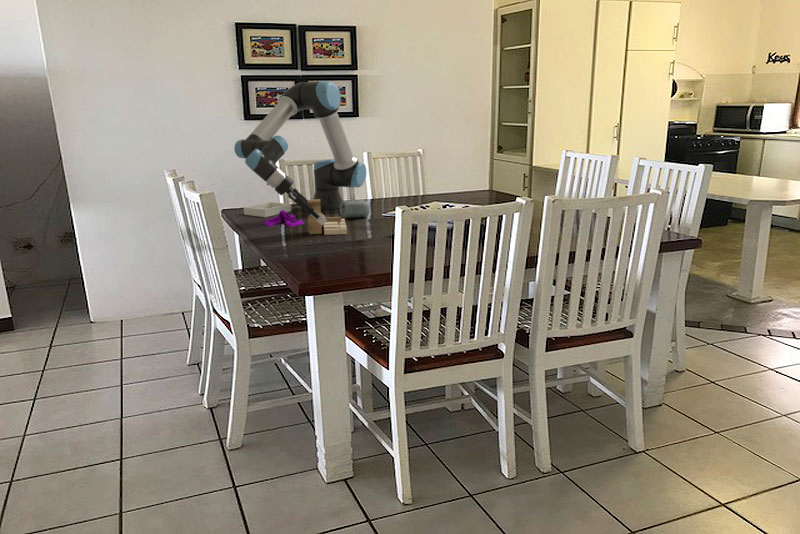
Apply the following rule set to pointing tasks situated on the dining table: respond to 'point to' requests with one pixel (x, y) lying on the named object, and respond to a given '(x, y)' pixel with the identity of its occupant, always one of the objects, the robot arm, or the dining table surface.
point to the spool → (354, 209)
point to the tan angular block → (315, 225)
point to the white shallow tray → (266, 209)
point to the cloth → (283, 220)
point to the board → (335, 228)
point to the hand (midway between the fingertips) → (324, 221)
